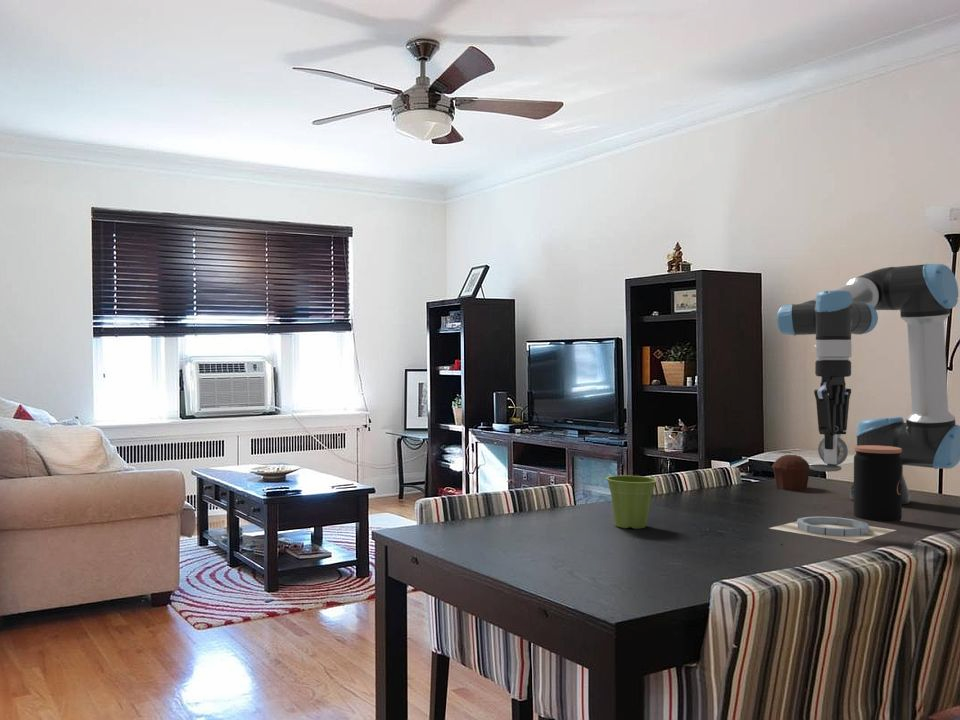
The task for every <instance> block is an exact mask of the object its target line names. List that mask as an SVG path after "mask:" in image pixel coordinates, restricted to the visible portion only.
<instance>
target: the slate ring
mask: <svg viewBox="0 0 960 720" xmlns="http://www.w3.org/2000/svg"><path fill="white" fill-rule="evenodd" d="M811 524H835V525H844V526H850V527H854V528H831V527H822V526H815V525H811ZM869 526H870V525H869V524H868V523H867V522H865V521H863V520H862V521H861V520H858V519H853V518H845V517H838V516H837V517H836V516H823V515H822V516H805V517H800V518H799V517H798V518H797V527H798V529H800V530H803V531H806V532H810V533H816V534H822V535H825V534H826V535H833V536H860V535H864V534H868V533H869Z"/></svg>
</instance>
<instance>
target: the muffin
mask: <svg viewBox="0 0 960 720" xmlns="http://www.w3.org/2000/svg"><path fill="white" fill-rule="evenodd" d="M810 465H811V464H809V462H808V461H807V460H806V459H804V458H803V457H802V456H800V455H796V454H784V455H782V456H780V457H778V458H777V459H776V460H775V461H774V462H773V463H772V465H771V467H772V469H773V475H774V482H775V487H776V489H778V490H784V491H804V490H805V491H806V490H807V488H808V482H809V476H810V471H811V470H812V469H810V467H809V466H810Z"/></svg>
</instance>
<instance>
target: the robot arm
mask: <svg viewBox="0 0 960 720" xmlns="http://www.w3.org/2000/svg"><path fill="white" fill-rule="evenodd" d="M958 298H959V287H958V283H957V279H956V276H955V274H954V272H953V271H952V269H951V268H950V267H949V266H948V265H946V264H942V263H926V264H924V263H923V264H915V265H913V264H912V265H905V266H903V265H902V266H890V267H884V268H883V267H882V268H879V269H876V270H872V271H870V272H866V273H864V274H862V275H859V276H856V277H854V278H852V279H850V280H849V281H847V283H846V284H845V286H842V287H840V288H837V289H834V290H822V291H819V292H817V294H816V296H815V298H812V299H811V300H808V301H805V302H802V303H798V304H794V303H791V304H784V305H782V306H780V308H779V309H778V310H777V314H776V327H777V329H778V330H779V332H780V333H781V334H783V335H785V336H786V335H787V336H789V335H790V336H791V335H792V336H800V335H801V336H804V335H807V336H808V335H815V344H814V348H815V357H816V358H818V360H817V359H816V361H815V364H814V365H815V369H814V371H815V373H814V374H815V376H816V377H821V380H820V384H819V386H820V387H819V389H814V391H813V394H814V397H815V404H816V415H817V416H816V417H817V425H818V433H819V434H820V435H823V438H824V462H823V463H824V464H825V465H827V464H837V454H840V452H837V437H839V438H841V439H842V435H847V429H848V419H849V417H848V416H849V406H850V399H851V394H852V389H851V388H847V387H846V377H850V376H851V375H852V361H851V360H850V359H851V358H852V335H864V334H868V333H870V332H872V331H873V330H874V329H875V328H876V326H877V324H878V319H879V315H878V312H877V311H900V319H902V320H903V321H904V322H905V323H906V324H907V339H908V341H907V342H908V360H909V361H908V362H909V363H908V364H909V378H910V380H909V381H910V396H911V397H910V398H911V401H910V402H911V412H910V414H908V415H907V416H906V418H905V419H906V420H905V421H904V418H903V417H902V416H895V417H883V418H881V417H880V418H871V419H862V420H860V421H859V422H858V423H857V430H856V446H860V445H876V446H891V447H898V448H901V449H902V452H901V453H900V457H901V459H902V505H908V504H909V503H910V500H911V496H910V491H909V489H908V486H907V483H906V480H905V476H904V473H903V472H904V470H903V469H904V466H908V467H909V466H911V467H921V468H931V469H935V470H938V469H943V470H947V469H948V470H951V469H952V468H955V467H956V466H957V465H958V464H959V463H960V425H959V424H956V417H955V416H954V415H953V414H952V413H951V412H950V411H949V403H948V402H949V399H948V397H949V396H948V383H947V382H948V380H947V377H948V376H947V359H946V358H947V357H946V340H945V339H946V337H945V321H946V319H947V318H948V317H949V316H950V315H951V309H953V308H955V307H956V306H957V304H958V303H959V302H958V301H959V300H958ZM836 426H838V428H839V430H838V431H837V432H835V431H836V430H837V427H836ZM838 448H839V447H838ZM838 451H840V449H838ZM838 456H839V455H838ZM849 499H850V500H851V501H854V481H853V482H852V485H851V488H850V491H849Z"/></svg>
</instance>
